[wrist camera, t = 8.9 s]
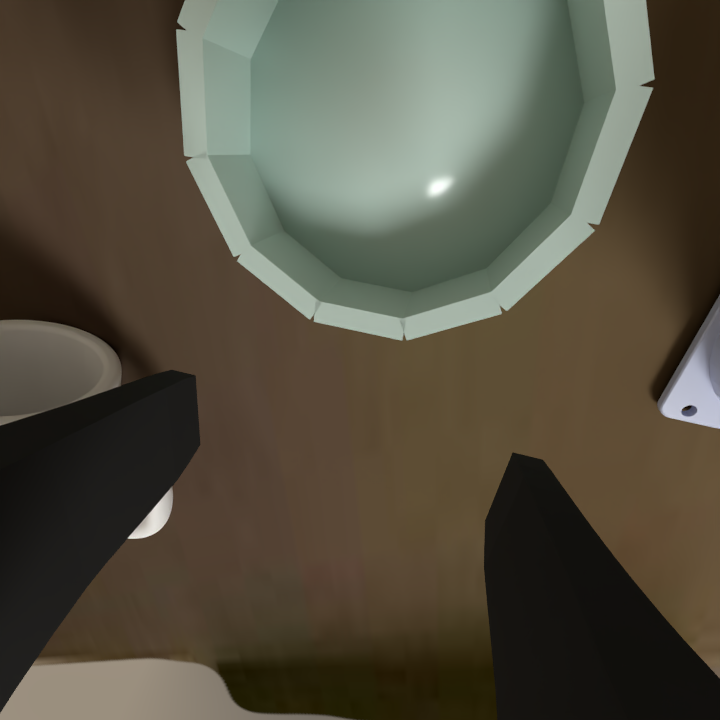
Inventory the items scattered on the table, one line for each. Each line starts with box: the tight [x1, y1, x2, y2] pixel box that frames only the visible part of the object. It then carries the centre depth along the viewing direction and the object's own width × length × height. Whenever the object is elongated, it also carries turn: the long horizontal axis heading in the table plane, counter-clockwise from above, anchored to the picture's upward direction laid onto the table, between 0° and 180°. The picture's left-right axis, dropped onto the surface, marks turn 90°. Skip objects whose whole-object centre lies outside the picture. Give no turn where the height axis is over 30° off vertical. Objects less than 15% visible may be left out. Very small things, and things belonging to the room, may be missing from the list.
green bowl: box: [176, 0, 655, 340], centre depth 13 cm, size 13×13×4 cm
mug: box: [0, 320, 173, 539], centre depth 21 cm, size 12×10×8 cm
